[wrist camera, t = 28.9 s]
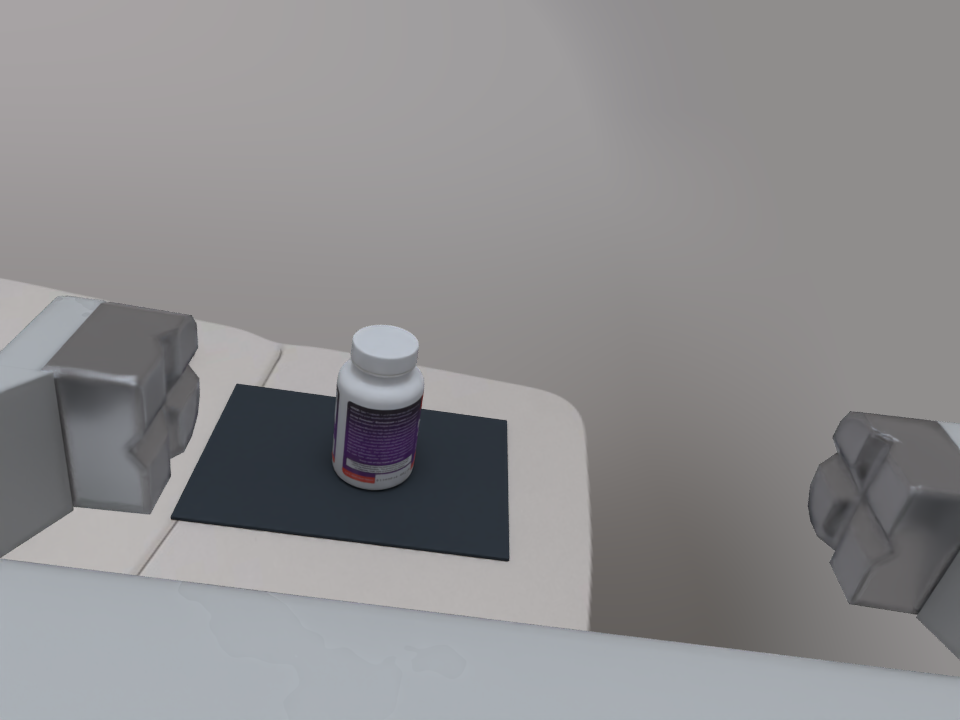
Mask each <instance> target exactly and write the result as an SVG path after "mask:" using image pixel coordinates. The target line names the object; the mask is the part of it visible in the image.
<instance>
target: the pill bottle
mask: <svg viewBox="0 0 960 720" xmlns="http://www.w3.org/2000/svg"><path fill="white" fill-rule="evenodd" d="M418 348H419V343H418V341H417V339H416V337H415V336H414V335H413V334H411V333H410V332H408V331H407V330H404V329H402V328H399V327H395V326H390V325H372V326H367V327H364V328H362V329H360V330H358V331H357V332H356V333H355V334H354V336H353V341H352V349H351V359H349V360H348V361H347V362H346V363H345V364H344V365H343V366H342V367H341V369H340V371H339V374H338V380H337V391H336V405H335V420H334V434H333V450H332V463H333V467H334V470H335V471H336V473H337V475H338V476H339V477H340V478H341V479H342V480H344V481H345V482H347V483H348V484H350V485H352V486H355V487H358V488H361V489H367V490H383V489H388V488H392V487H394V486H397V485H399V484H401V483H402V482H403V481H405V480H406V479H407V478H408V477H409V475H410V474H411V472H412V469H413V465H414V460H415V453H416V445H417V437H418V430H419V422H420V414H421V407H422V400H423V393H424V378H423V375H422V373H421V371H420V370H419V368H418V367H417V366H416V363H417V358H418Z"/></svg>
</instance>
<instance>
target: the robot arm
mask: <svg viewBox="0 0 960 720" xmlns="http://www.w3.org/2000/svg"><path fill="white" fill-rule="evenodd" d="M197 349H198V338H197V324H196V322H195V320H194V318H193V317H192V315H187V314H181V313H175V312H169V311H163V310H157V309H150V308H144V307H138V306H132V305H126V304H120V303H114V302H106V301H104V300H97V299H89V298H81V297H73V296H58V297H56V298H55V299H54V300H53V301H52V302H51V303H50V304H49V305H48V306H47V307H46V308H45V309H44V310H43V311H42V312H41V313H40V314H39V315H38V316H37V317H35V318H34V319H33V320H32V321H31V322H30V323H29V324H28V325H27V326H26V327H25V328H24V329H23V330H22V331H21V332H20V333H19V334H18V335H17V336H16V337H15V338H14V339H13V340H12V341H11V342H10V343H9V344H8V345H7V346H6V347H5V348H4V349H3V350H2V351H1V352H0V558H1V557H3V556H4V555H6V554H7V553H9V552H10V551H12V550H13V549H15V548H16V547H18V546H19V545H21V544H23V543H24V542H26V541H27V540H29V539H30V538H32V537H33V536H35V535H36V534H38V533H39V532H41V531H43V530H44V529H46V528H47V527H49V526H50V525H52V524H53V523H55V522H56V521H58V520H59V519H61V518H63V517H64V516H66V515H67V514H69V513H70V512H72V511H73V507H81V508H91V509H101V510H111V511H121V512H131V513H140V514H151V512H152V510H153V508H154V506H155V504H156V503H157V501H158V499H159V497H160V495H161V493H162V492H163V490H164V488H165V486H166V484H167V482H168V481H169V479H170V477H171V470H170V459H171V458H173V457H175V456H177V455H179V454H181V453H183V452H184V451H185V449H186V447H187V445H188V443H189V441H190V439H191V437H192V434H193V430H194V426H195V423H196V419H197V415H198V407H199V397H200V388H199V378H198V376H197V375H196V374H195V372H194V371H193V370H192V369H191V367H190V366H189V365H188V364H189V362H190V360H191V359H192V357H193V355H194V354H195V352H196V350H197ZM833 440H834V443H835V447H836V450H837V453H836V454H834V455H833V456H831V457H830V458H828V459H827V460H825V461H824V462H822V463H821V464H819V466H818V468H817V471H816V473H815V475H814V477H813V480H812V482H811V484H810V492H809V501H808V509H809V515H810V521H811V523H812V525H813V528H814V530H815V532H816V535H817V536H818V537H819V538H820V539H821V540H822V541H824V542H825V543H826V544H827V545H829V546H830V547H831V548H832V549H833V550H835V552H834V554H833V556H832V558H831V560H830V565H831V567H832V569H833V571H834V573H835V575H836V577H837V580H838V582H839V584H840V586H841V588H842V590H843V592H844V594H845V597H846V599H847V601H848V603H849V604H852V605H859V606H865V607H872V608H878V609H885V610H891V611H897V612H904V613H911V614H917V617H916V618H917V619H918V620H919V621H921V623H922V624H923V625H924V626H925V627H926V628H928V630H930V631H931V632H932V633H933V634H934V635H935V636H936V637H937V638H938V639H939V640H940V641H941V642H942V643H943V644H944V645H945V646H946V647H947V648H948V649H949V650H950V651H951V652H952V653H953V654H954V655H955V656H956V657H957V658H958V659H960V423H950V422H941V421H931V420H922V419H914V418H905V417H896V416H887V415H880V414H871V413H863V412H851V411H850V412H849V413H848V414H847V415H846V416H845V417H844V418H843V419H842V420H841V421H840V423H839V425H838V427H837V429H836V431H835V433H834V435H833ZM0 720H960V677H955V676H947V675H940V674H931V673H924V672H916V671H907V670H898V669H891V668H883V667H875V666H867V665H859V664H850V663H842V662H834V661H826V660H818V659H809V658H802V657H793V656H785V655H777V654H769V653H761V652H753V651H745V650H736V649H729V648H720V647H712V646H704V645H696V644H688V643H680V642H671V641H663V640H655V639H647V638H638V637H631V636H623V635H615V634H607V633H599V632H590V631H582V630H574V629H566V628H558V627H550V626H542V625H534V624H526V623H518V622H510V621H501V620H493V619H485V618H477V617H469V616H461V615H453V614H445V613H437V612H429V611H420V610H412V609H404V608H396V607H388V606H380V605H372V604H364V603H356V602H348V601H340V600H331V599H323V598H315V597H307V596H299V595H291V594H283V593H275V592H267V591H259V590H250V589H242V588H234V587H226V586H218V585H210V584H202V583H194V582H186V581H178V580H169V579H161V578H153V577H145V576H137V575H129V574H121V573H113V572H105V571H97V570H88V569H80V568H72V567H64V566H56V565H48V564H40V563H32V562H24V561H16V560H7V559H0Z"/></svg>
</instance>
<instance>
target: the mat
mask: <svg viewBox="0 0 960 720" xmlns="http://www.w3.org/2000/svg"><path fill="white" fill-rule="evenodd" d="M335 405H336V397H331V396H324V395H316V394H309V393H302V392H294V391H287V390H280V389H272V388H265V387H258V386H250V385H243V384H236V386H235V388H234V390H233V392H232V394H231V396H230V398H229V400H228V402H227V404H226V407H225V409H224V411H223V413H222V415H221V417H220V419H219V421H218V423H217V425H216V427H215V429H214V431H213V433H212V435H211V437H210V439H209V441H208V443H207V445H206V447H205V449H204V451H203V453H202V455H201V457H200V459H199V461H198V463H197V465H196V467H195V469H194V471H193V473H192V475H191V477H190V479H189V481H188V483H187V485H186V487H185V489H184V491H183V493H182V495H181V497H180V499H179V501H178V503H177V505H176V507H175V509H174V511H173V513H172V515H171V519H176V520H184V521H192V522H200V523H208V524H216V525H224V526H232V527H240V528H248V529H256V530H264V531H272V532H280V533H288V534H296V535H304V536H312V537H320V538H328V539H336V540H344V541H352V542H360V543H368V544H376V545H384V546H392V547H400V548H408V549H416V550H424V551H432V552H440V553H448V554H456V555H464V556H472V557H480V558H488V559H496V560H504V561H509V515H508V454H507V420H500V419H492V418H485V417H478V416H470V415H463V414H456V413H448V412H441V411H434V410H426V409H421V414H420V422H419V430H418V437H417V445H416V453H415V460H414V465H413V469H412V472H411V474H410V475H409V477H408V478H407V479H406V480H405V481H403V482H402V483H401V484H399V485H397V486H394V487H392V488H388V489H383V490H367V489H361V488H358V487H355V486H352V485H350V484H348V483H347V482H345V481H344V480H342V479H341V478H340V477H339V476H338V475H337V473H336V471H335V470H334V467H333V463H332V450H333V434H334V420H335Z"/></svg>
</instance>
